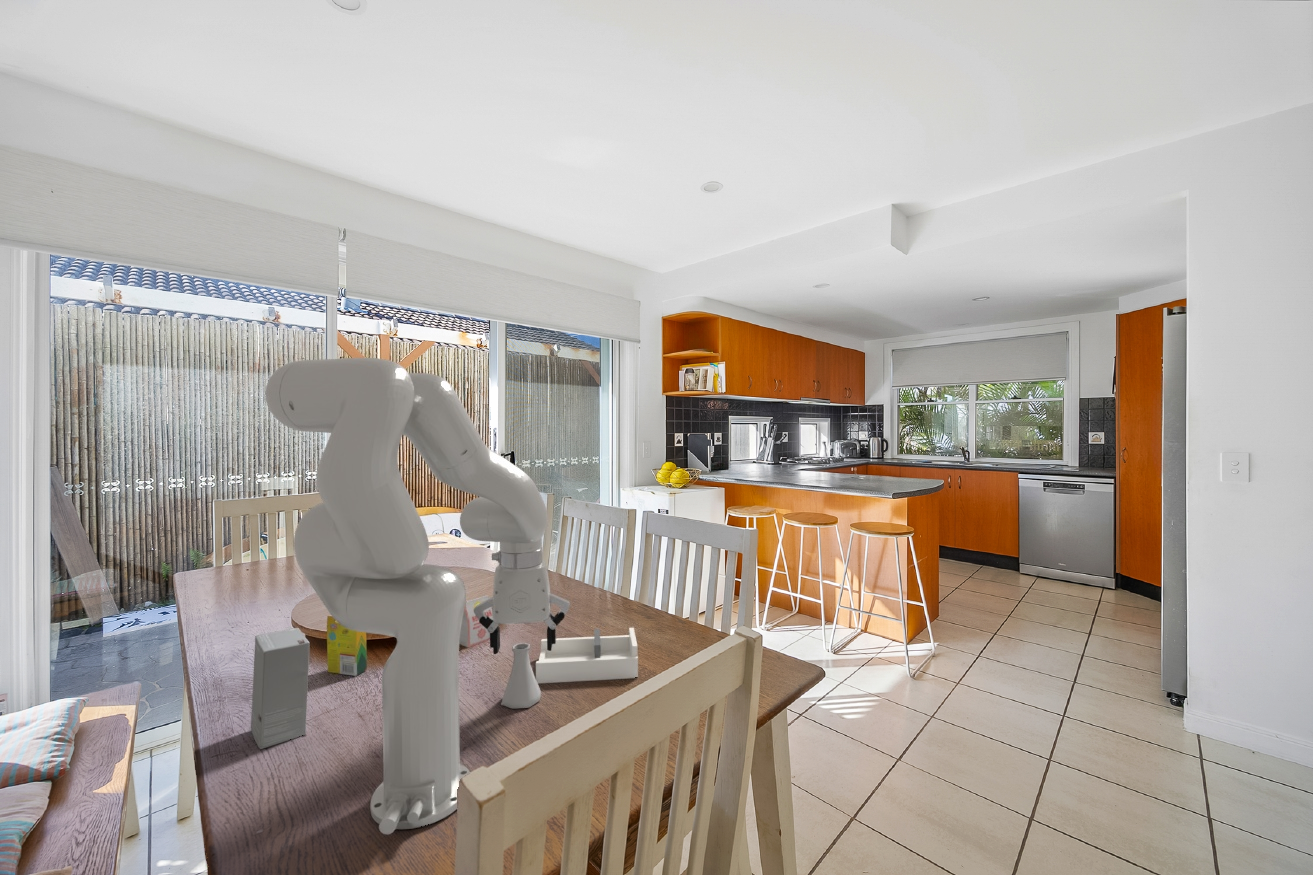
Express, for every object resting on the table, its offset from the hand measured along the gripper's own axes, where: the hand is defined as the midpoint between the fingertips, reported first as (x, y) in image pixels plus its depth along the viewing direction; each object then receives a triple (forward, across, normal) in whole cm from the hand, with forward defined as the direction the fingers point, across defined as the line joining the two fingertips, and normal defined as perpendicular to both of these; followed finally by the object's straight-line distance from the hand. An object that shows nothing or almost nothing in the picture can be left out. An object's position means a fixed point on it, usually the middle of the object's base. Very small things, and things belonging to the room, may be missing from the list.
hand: (523, 649), depth 100 cm
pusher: (+8, +14, +11) cm, 19 cm away
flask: (+9, 0, -1) cm, 9 cm away
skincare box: (+8, -38, -7) cm, 40 cm away
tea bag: (+10, -14, +28) cm, 33 cm away
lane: (+10, +12, +11) cm, 19 cm away
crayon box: (+9, -37, +15) cm, 41 cm away
